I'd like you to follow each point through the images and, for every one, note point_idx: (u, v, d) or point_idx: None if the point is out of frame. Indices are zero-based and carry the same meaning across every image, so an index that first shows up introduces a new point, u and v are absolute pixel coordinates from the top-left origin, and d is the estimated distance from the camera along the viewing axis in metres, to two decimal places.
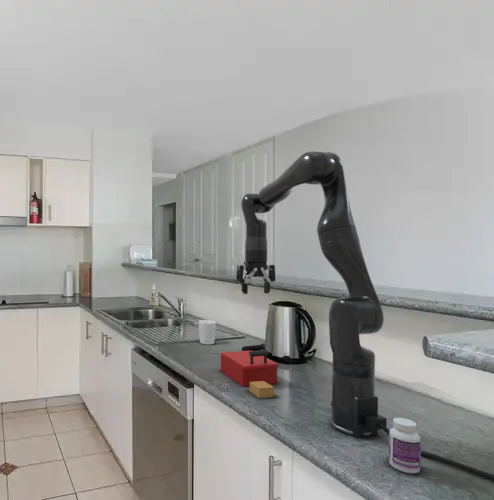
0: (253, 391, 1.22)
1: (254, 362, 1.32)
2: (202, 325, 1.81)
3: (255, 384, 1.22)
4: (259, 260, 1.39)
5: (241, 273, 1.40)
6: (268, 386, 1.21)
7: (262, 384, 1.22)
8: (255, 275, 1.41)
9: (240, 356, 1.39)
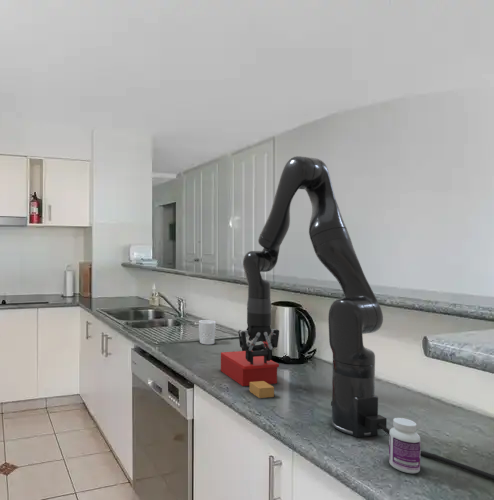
0: (253, 391, 1.22)
1: (254, 362, 1.32)
2: (202, 325, 1.81)
3: (255, 384, 1.22)
4: (262, 325, 1.27)
5: (244, 340, 1.28)
6: (268, 386, 1.21)
7: (262, 384, 1.22)
8: (258, 340, 1.30)
9: (240, 356, 1.39)
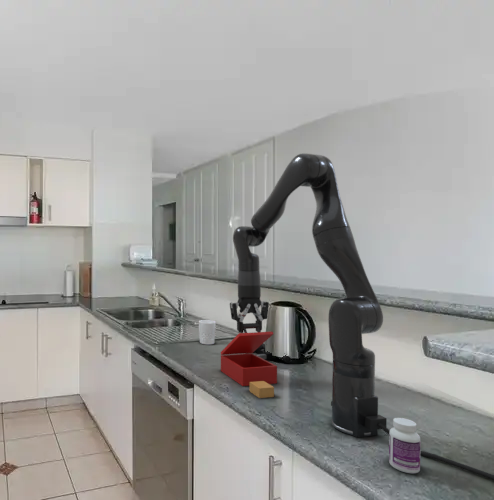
0: (253, 391, 1.22)
1: None
2: (202, 325, 1.81)
3: (255, 384, 1.22)
4: (252, 296, 1.33)
5: (235, 311, 1.34)
6: (268, 386, 1.21)
7: (262, 384, 1.22)
8: (248, 311, 1.35)
9: None
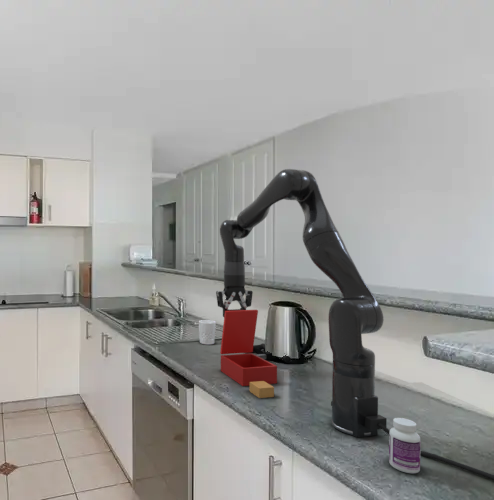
0: (253, 391, 1.22)
1: None
2: (202, 325, 1.81)
3: (255, 384, 1.22)
4: (237, 285, 1.43)
5: (221, 299, 1.44)
6: (268, 386, 1.21)
7: (262, 384, 1.22)
8: (233, 299, 1.45)
9: None
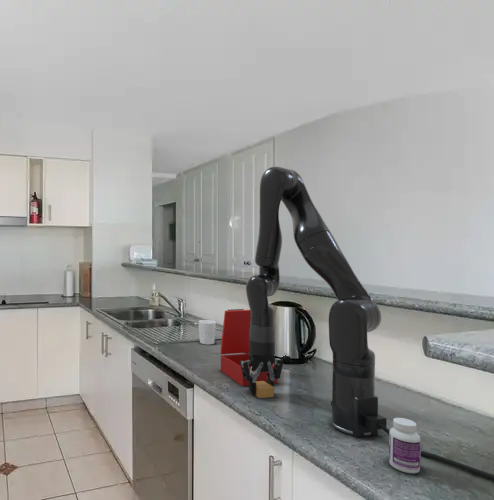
0: None
1: None
2: (202, 325, 1.81)
3: None
4: (266, 355, 1.18)
5: (247, 371, 1.20)
6: (268, 386, 1.21)
7: (262, 384, 1.22)
8: (261, 370, 1.21)
9: None
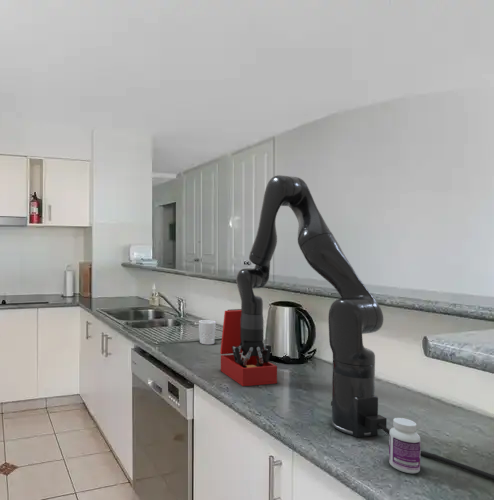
0: None
1: None
2: (202, 325, 1.81)
3: None
4: (255, 340, 1.31)
5: (238, 356, 1.33)
6: None
7: None
8: (251, 354, 1.34)
9: None
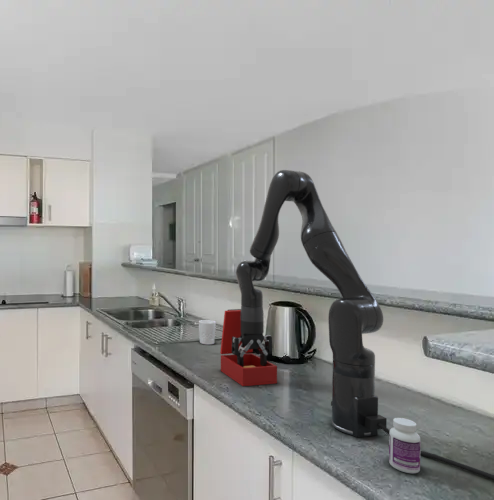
0: None
1: None
2: (202, 325, 1.81)
3: None
4: (255, 333, 1.31)
5: (236, 346, 1.32)
6: None
7: None
8: (251, 347, 1.34)
9: None
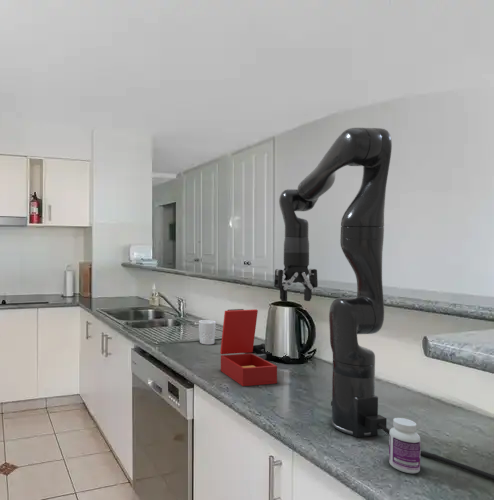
0: None
1: None
2: (202, 325, 1.81)
3: None
4: (301, 264, 1.24)
5: (280, 278, 1.25)
6: None
7: None
8: (295, 281, 1.26)
9: None
